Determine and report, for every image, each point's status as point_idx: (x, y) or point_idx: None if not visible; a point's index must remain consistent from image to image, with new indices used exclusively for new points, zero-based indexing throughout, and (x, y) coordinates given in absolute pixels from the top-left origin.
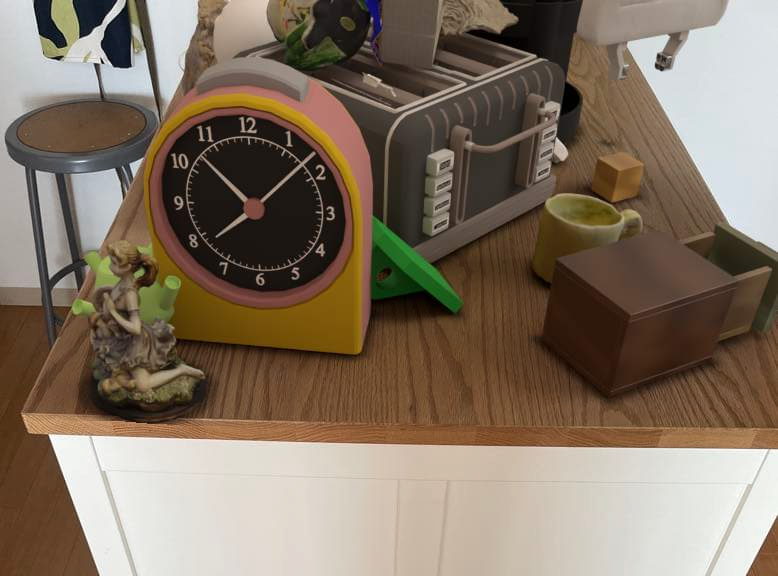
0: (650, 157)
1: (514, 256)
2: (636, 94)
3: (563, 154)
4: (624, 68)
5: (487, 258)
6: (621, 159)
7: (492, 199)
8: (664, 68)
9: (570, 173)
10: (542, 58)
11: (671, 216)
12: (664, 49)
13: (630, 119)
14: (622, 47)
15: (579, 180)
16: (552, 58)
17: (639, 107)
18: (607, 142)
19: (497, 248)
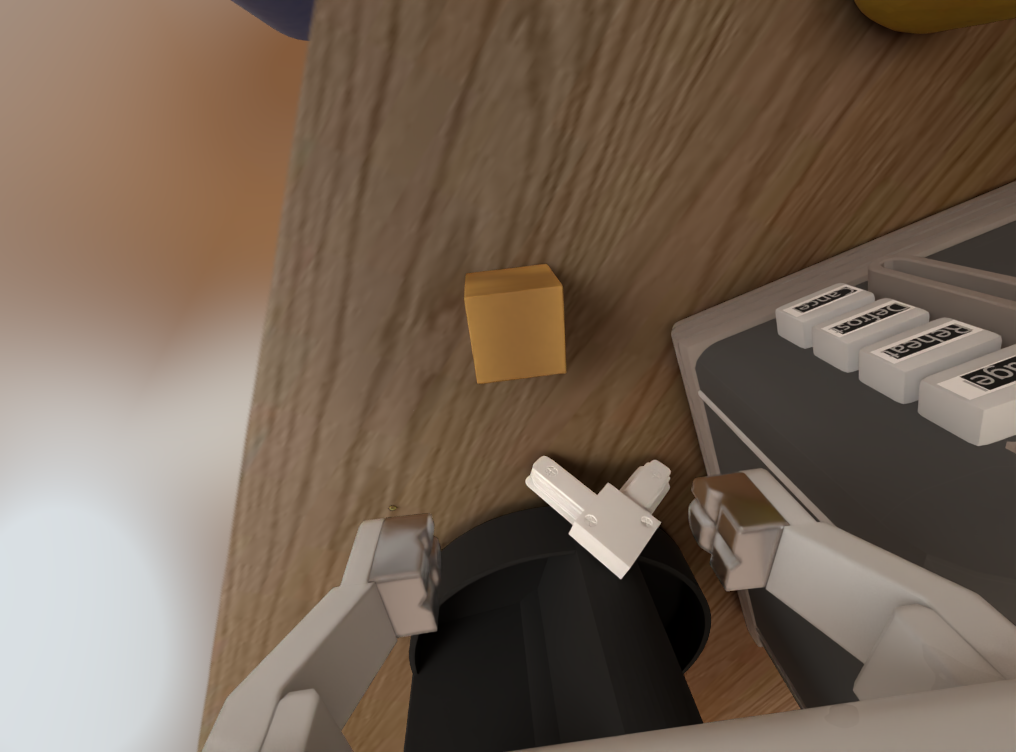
0: (327, 433)
1: (950, 90)
2: (232, 646)
3: (544, 466)
4: (760, 513)
5: (1005, 109)
6: (512, 343)
7: (985, 245)
8: (424, 520)
9: (545, 417)
10: (664, 706)
11: (436, 132)
12: (387, 648)
13: (291, 574)
14: (958, 633)
15: (547, 385)
16: (623, 705)
17: (249, 608)
18: (393, 507)
19: (944, 150)
